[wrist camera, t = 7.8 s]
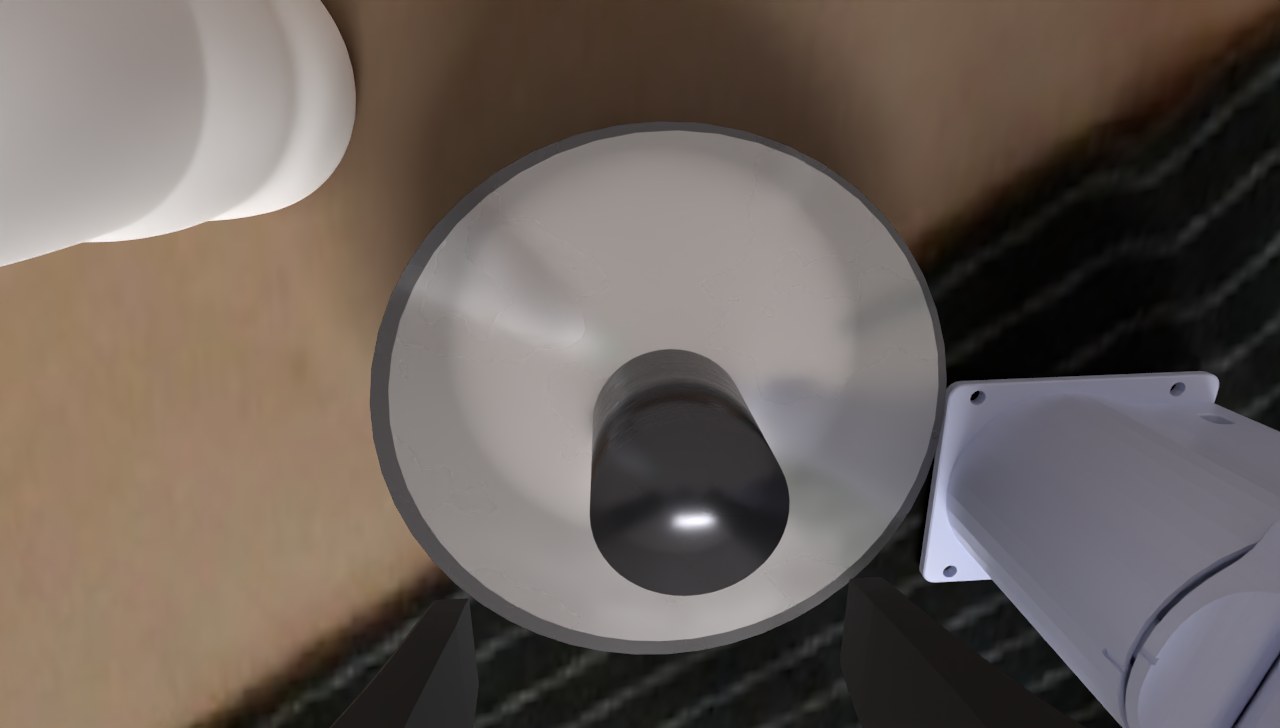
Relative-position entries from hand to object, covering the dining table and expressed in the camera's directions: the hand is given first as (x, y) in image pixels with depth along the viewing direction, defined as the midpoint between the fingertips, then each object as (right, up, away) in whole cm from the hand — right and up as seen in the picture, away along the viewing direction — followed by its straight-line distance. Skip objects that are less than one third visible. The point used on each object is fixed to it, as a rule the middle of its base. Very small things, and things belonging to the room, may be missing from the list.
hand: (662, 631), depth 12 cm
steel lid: (0, +4, +4) cm, 6 cm away
